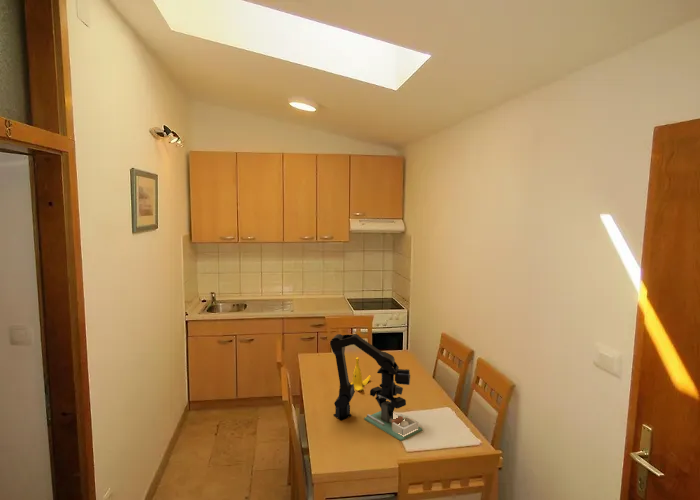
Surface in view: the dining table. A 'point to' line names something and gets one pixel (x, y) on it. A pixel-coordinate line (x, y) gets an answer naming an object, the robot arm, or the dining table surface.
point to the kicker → (386, 416)
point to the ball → (404, 424)
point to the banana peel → (358, 377)
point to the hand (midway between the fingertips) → (387, 414)
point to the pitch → (394, 426)
